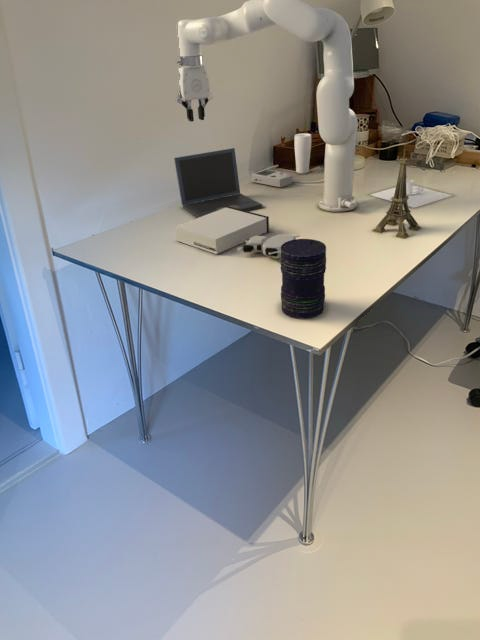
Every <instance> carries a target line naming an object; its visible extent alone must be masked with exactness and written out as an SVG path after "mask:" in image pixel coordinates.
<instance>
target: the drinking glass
mask: <svg viewBox="0 0 480 640" xmlns="http://www.w3.org/2000/svg"><path fill="white" fill-rule="evenodd" d="M293 138H294V141H293V144H294V145H293V146H294V156H295V157H294V158H295V172H296V174H299V175H305V174H308V173H309V172H310V161H311V152H312V134H310V133H308V132H307V133H305V132H303V133H296V134H294V137H293Z"/></svg>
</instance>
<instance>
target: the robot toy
mask: <svg viewBox="0 0 480 640" xmlns="http://www.w3.org/2000/svg"><path fill="white" fill-rule="evenodd" d="M300 237H301V234H299V235H295V236H293V235H291V234H277V235H273V236H271V237H269V238H268V237H267V236H264V235H263V234H261V235H257V236H253V237H252V238H248V240H246V241H245V242H244V244H243V246H238V247H237V251H238V252H243V253H253V254H257V253H262V254H263V255H264V256H265V257H271V258H273V259H275V260H279V259H281V246H282V244H284V243H285V242H287V241H290V240H295V239H297V238H300Z"/></svg>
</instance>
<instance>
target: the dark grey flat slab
mask: <svg viewBox="0 0 480 640" xmlns="http://www.w3.org/2000/svg"><path fill="white" fill-rule="evenodd" d="M226 206H229V207H233V208H237V209H240V210H244V211H248V212H250V211H254V210H259V209H262V208H263V204H262V203H261V202H258V201H256V200H255V199H253V198H250V197H248V196H246V195H245V194H243V193H241V192H240V193H239V194H234V195H229V196H225V197H220V198H215V199H210V200H205V201H200V202H195V203H190V204H185V205H182V209H183V210H184V211H186V212H188V213H189V214H190V215H192V216H194V217H195V218H199V217H202V216H204V215H207V214H210V213H213V212H215V211H218V210H221V209H223V208H226Z"/></svg>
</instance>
